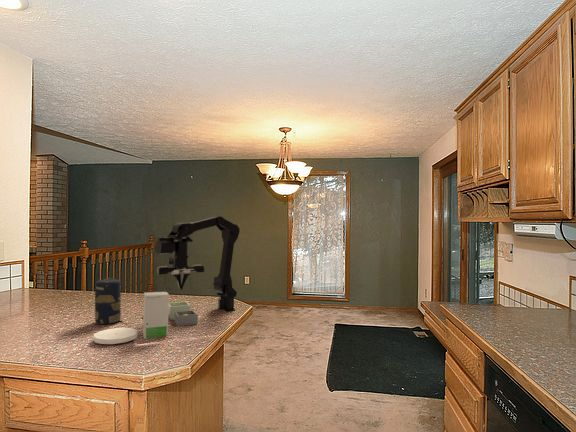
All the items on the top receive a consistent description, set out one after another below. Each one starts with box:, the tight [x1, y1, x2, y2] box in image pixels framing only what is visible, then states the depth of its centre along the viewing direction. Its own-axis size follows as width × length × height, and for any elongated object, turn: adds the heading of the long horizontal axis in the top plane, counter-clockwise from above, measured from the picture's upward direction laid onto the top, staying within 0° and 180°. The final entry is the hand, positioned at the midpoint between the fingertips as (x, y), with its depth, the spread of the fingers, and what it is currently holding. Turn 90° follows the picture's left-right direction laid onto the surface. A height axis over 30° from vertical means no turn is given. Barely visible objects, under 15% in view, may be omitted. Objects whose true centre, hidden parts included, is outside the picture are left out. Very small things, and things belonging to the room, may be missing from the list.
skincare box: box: [142, 291, 170, 340], centre depth 143 cm, size 8×7×16 cm
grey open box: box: [174, 309, 199, 327], centre depth 159 cm, size 8×8×4 cm
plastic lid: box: [93, 327, 139, 345], centre depth 139 cm, size 14×14×2 cm
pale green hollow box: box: [168, 300, 191, 321], centre depth 169 cm, size 8×8×6 cm
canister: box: [94, 277, 122, 325], centre depth 162 cm, size 10×10×18 cm
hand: (180, 289), depth 169 cm, fingers closed
